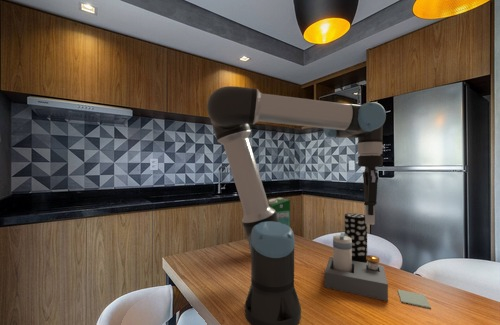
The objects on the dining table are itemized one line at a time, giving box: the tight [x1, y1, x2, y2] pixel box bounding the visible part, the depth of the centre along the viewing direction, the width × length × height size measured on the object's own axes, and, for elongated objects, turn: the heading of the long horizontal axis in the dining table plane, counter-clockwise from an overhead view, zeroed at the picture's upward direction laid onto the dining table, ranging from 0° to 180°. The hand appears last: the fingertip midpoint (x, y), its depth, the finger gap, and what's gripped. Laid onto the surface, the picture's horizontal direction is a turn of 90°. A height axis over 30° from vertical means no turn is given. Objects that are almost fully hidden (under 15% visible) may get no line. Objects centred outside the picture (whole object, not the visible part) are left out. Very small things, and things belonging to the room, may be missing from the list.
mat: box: [397, 289, 432, 310], centre depth 70 cm, size 7×7×1 cm
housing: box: [324, 256, 389, 302], centre depth 79 cm, size 14×18×5 cm
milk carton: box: [267, 196, 291, 228], centre depth 106 cm, size 9×9×25 cm
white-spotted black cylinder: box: [344, 212, 368, 263], centre depth 93 cm, size 8×8×20 cm
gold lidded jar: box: [366, 254, 380, 272], centre depth 79 cm, size 4×4×6 cm
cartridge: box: [332, 232, 352, 273], centre depth 81 cm, size 6×6×16 cm
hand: (369, 223), depth 79 cm, fingers closed
